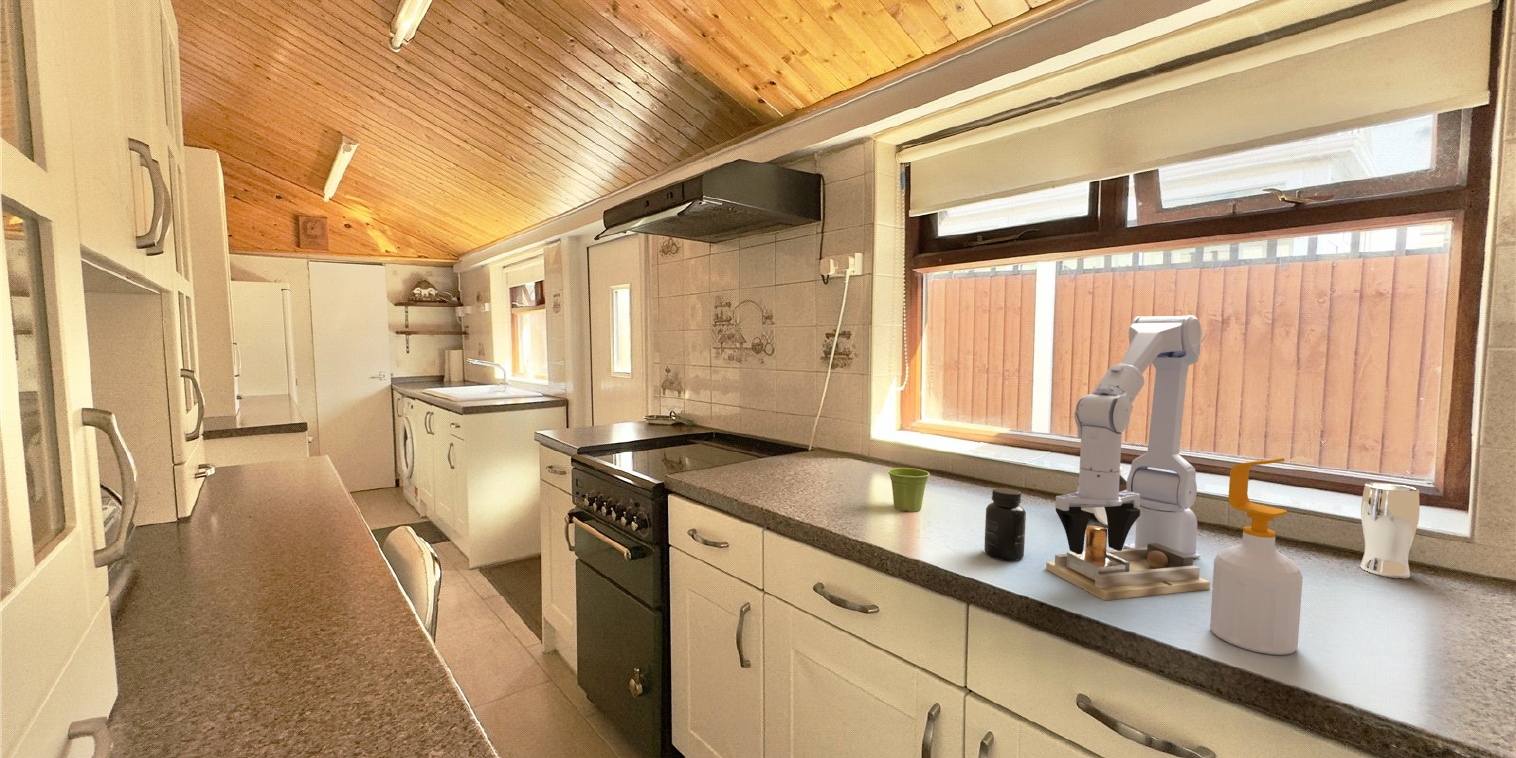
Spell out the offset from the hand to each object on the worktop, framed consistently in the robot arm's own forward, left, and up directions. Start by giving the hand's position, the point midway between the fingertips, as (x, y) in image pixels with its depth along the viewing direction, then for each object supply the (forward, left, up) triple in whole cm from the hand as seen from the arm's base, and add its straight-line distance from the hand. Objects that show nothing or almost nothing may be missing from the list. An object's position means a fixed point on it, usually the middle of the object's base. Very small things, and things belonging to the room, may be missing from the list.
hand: (1095, 550), depth 101 cm
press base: (-6, 0, -5) cm, 8 cm away
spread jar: (-29, -29, -6) cm, 41 cm away
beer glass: (-53, +7, -5) cm, 54 cm away
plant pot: (+10, -46, -5) cm, 47 cm away
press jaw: (0, 0, -4) cm, 4 cm away
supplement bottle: (+7, -14, -5) cm, 17 cm away
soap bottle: (-6, +21, -5) cm, 22 cm away
